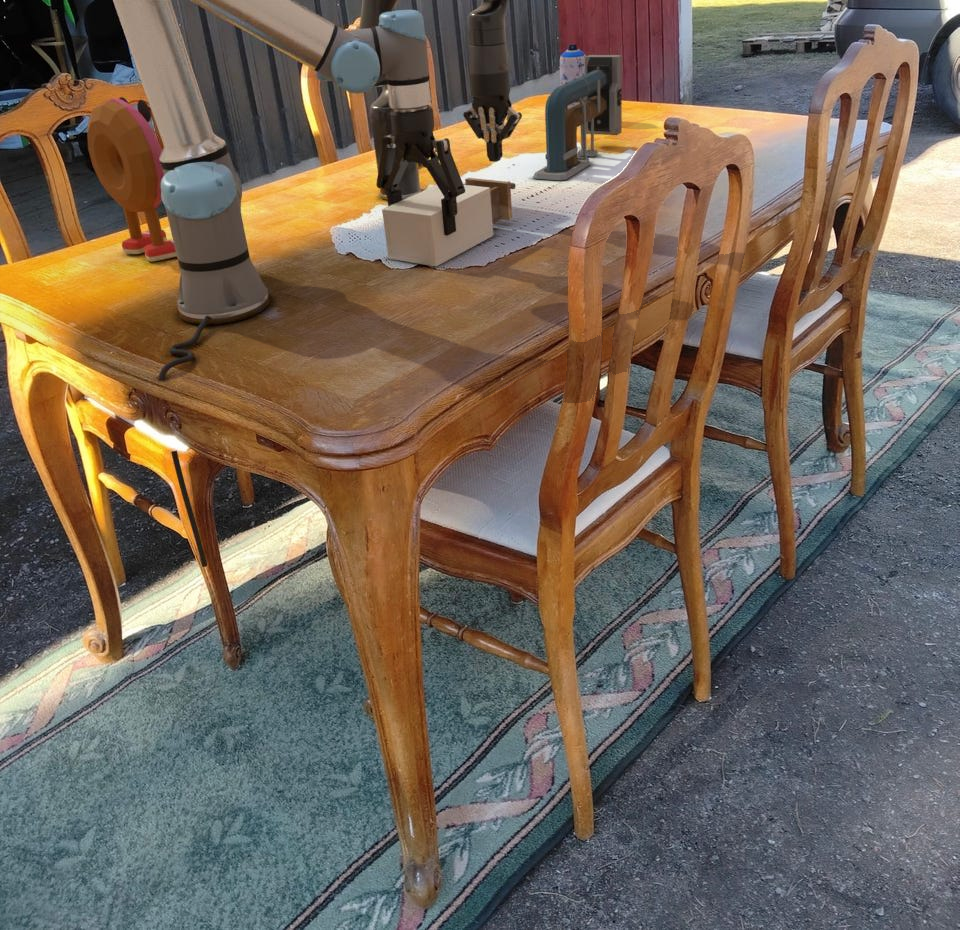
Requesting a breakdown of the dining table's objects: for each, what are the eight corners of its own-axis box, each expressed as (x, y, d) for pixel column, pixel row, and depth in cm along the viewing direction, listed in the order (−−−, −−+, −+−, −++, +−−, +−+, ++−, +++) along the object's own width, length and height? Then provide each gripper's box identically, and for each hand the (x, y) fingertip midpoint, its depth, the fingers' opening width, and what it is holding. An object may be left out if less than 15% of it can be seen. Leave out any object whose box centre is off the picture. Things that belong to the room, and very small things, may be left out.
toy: (207, 253, 194) (172, 96, 178) (163, 268, 187) (122, 106, 172) (152, 236, 207) (115, 88, 191) (109, 250, 200) (67, 98, 185)
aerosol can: (559, 122, 275) (557, 47, 265) (562, 117, 282) (559, 42, 272) (587, 121, 274) (585, 45, 263) (589, 115, 280) (587, 41, 270)
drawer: (486, 206, 204) (483, 170, 200) (527, 210, 199) (525, 174, 195) (419, 238, 188) (415, 201, 185) (462, 245, 183) (458, 206, 179)
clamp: (565, 180, 221) (562, 81, 210) (530, 178, 225) (526, 81, 214) (621, 144, 247) (621, 55, 236) (589, 143, 251) (588, 55, 240)
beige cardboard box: (447, 229, 196) (442, 182, 191) (493, 235, 190) (490, 187, 185) (388, 258, 183) (381, 209, 178) (436, 266, 177) (430, 215, 172)
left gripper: (478, 106, 166) (488, 230, 177) (373, 100, 178) (388, 217, 189) (453, 115, 161) (464, 243, 172) (346, 108, 173) (363, 228, 184)
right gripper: (528, 66, 184) (532, 158, 193) (472, 64, 191) (478, 153, 200) (507, 73, 179) (512, 168, 188) (450, 71, 186) (457, 162, 195)
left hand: (424, 229), depth 181 cm, fingers closed on beige cardboard box, 11 cm apart
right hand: (495, 160), depth 194 cm, fingers closed
